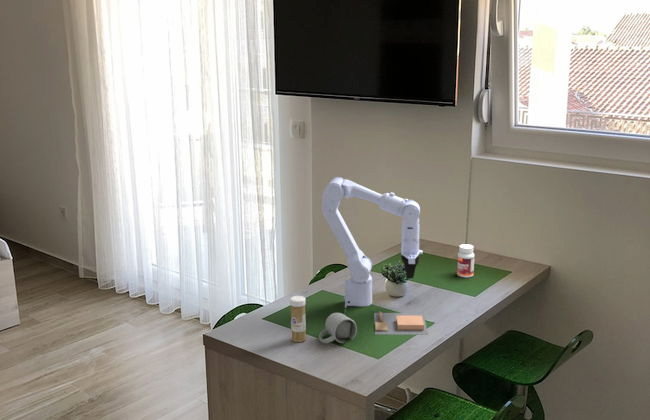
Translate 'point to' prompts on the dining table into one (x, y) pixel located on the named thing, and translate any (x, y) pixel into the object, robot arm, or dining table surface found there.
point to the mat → (392, 324)
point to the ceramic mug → (338, 328)
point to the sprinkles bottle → (298, 318)
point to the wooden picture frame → (410, 323)
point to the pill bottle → (465, 261)
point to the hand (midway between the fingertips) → (409, 277)
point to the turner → (380, 323)
